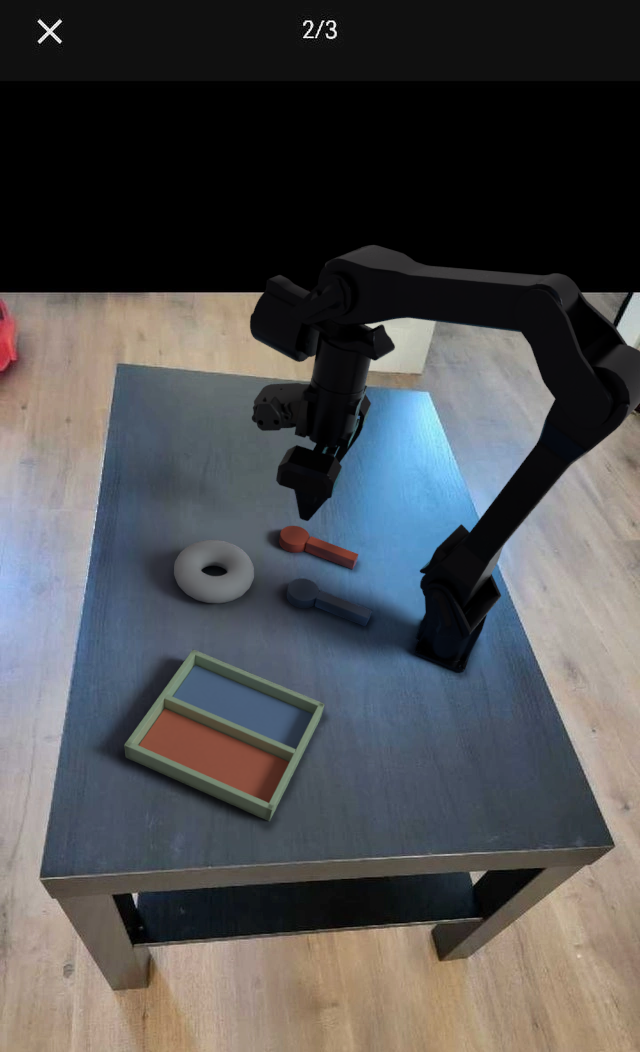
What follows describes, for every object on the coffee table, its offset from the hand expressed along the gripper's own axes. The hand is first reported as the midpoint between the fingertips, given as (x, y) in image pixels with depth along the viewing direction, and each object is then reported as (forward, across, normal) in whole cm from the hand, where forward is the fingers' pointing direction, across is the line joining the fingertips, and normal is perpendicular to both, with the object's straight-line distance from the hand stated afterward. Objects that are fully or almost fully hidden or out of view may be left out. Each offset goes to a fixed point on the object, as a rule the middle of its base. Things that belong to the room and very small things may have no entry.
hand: (314, 497), depth 84 cm
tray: (+10, +30, +1) cm, 32 cm away
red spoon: (+10, -2, +2) cm, 11 cm away
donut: (+11, +9, -9) cm, 17 cm away
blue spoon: (+10, +7, +6) cm, 14 cm away
